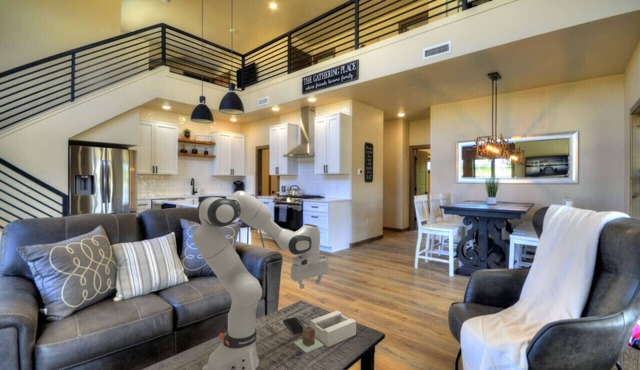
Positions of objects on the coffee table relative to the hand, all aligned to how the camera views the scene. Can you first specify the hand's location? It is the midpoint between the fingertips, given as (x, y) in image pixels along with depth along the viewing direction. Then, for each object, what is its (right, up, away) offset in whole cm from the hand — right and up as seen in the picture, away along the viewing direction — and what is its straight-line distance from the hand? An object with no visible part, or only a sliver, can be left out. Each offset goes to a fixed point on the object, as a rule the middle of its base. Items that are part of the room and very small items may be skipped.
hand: (310, 286), depth 145 cm
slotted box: (+11, -26, +5) cm, 29 cm away
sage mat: (0, -26, -4) cm, 26 cm away
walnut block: (-1, -25, -4) cm, 26 cm away
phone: (-8, -26, +13) cm, 30 cm away
